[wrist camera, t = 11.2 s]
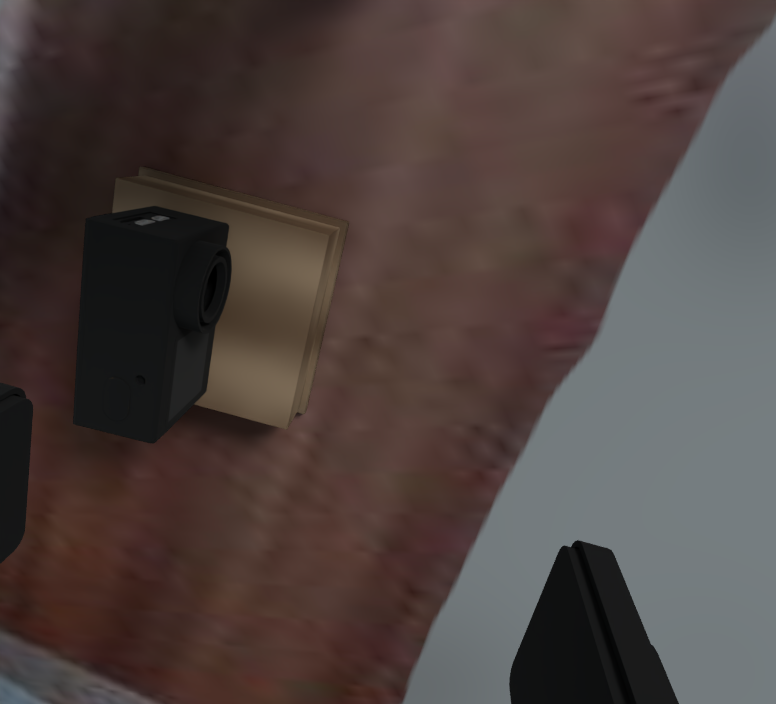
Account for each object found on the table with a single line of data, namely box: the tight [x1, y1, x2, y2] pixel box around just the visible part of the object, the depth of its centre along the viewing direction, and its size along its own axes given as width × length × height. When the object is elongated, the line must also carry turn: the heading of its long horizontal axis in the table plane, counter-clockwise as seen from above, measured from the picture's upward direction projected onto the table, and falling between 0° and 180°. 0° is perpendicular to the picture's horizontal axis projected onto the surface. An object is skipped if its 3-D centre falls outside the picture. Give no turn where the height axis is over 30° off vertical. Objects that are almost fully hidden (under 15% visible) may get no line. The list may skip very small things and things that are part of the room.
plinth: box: [112, 167, 349, 430], centre depth 37 cm, size 13×13×4 cm
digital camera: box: [73, 206, 232, 443], centre depth 32 cm, size 10×5×7 cm, turn 167°
